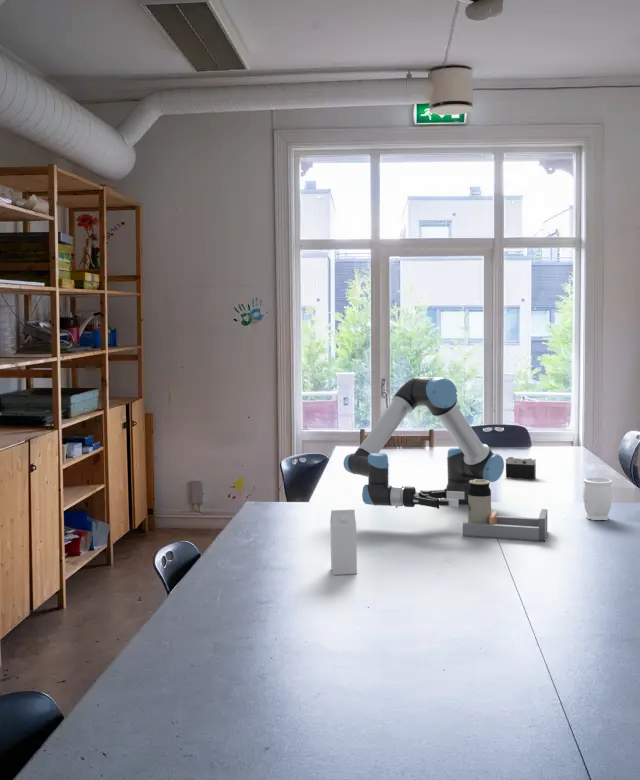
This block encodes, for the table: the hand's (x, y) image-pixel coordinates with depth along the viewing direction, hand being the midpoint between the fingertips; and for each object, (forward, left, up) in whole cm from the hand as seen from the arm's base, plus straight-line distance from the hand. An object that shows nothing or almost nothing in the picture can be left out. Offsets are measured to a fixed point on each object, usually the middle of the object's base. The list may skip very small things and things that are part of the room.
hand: (461, 499), depth 284 cm
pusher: (0, +11, -11) cm, 16 cm away
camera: (-113, +11, -12) cm, 114 cm away
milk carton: (+58, -26, -12) cm, 65 cm away
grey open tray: (0, +16, -12) cm, 19 cm away
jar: (-32, +47, -12) cm, 58 cm away
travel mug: (0, +7, -11) cm, 13 cm away
